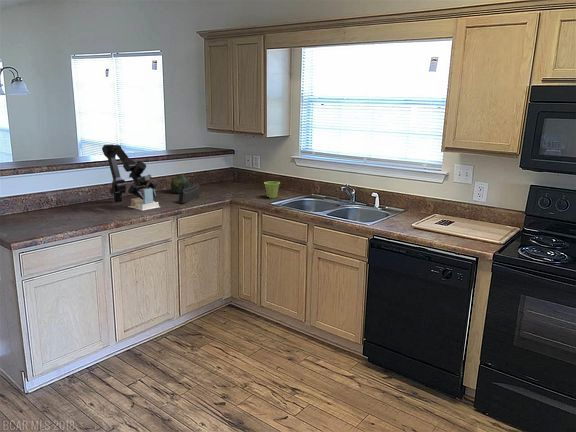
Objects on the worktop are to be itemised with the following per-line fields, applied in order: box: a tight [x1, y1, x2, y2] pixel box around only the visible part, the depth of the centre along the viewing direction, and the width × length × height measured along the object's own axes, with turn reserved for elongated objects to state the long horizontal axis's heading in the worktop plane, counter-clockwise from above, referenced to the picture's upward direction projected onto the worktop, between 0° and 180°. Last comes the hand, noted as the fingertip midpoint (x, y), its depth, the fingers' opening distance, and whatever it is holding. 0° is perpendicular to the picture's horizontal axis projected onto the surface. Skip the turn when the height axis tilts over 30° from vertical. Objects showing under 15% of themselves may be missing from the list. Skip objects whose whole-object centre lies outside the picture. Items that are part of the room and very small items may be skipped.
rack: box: [127, 200, 161, 211], centre depth 291 cm, size 16×14×4 cm
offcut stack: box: [130, 197, 143, 208], centre depth 293 cm, size 7×10×4 cm
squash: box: [170, 173, 191, 194], centre depth 345 cm, size 14×15×15 cm
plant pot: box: [263, 181, 281, 199], centre depth 336 cm, size 12×12×11 cm
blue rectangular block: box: [142, 188, 154, 205], centre depth 287 cm, size 2×6×12 cm, turn 143°
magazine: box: [177, 181, 202, 204], centre depth 319 cm, size 17×3×30 cm
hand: (149, 198), depth 286 cm, fingers open, 9 cm apart
